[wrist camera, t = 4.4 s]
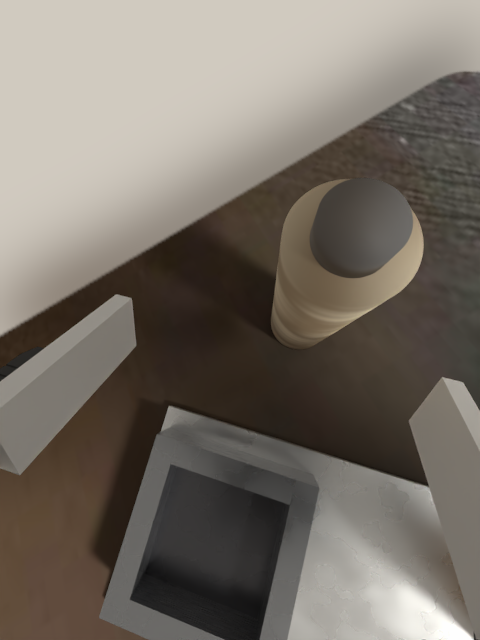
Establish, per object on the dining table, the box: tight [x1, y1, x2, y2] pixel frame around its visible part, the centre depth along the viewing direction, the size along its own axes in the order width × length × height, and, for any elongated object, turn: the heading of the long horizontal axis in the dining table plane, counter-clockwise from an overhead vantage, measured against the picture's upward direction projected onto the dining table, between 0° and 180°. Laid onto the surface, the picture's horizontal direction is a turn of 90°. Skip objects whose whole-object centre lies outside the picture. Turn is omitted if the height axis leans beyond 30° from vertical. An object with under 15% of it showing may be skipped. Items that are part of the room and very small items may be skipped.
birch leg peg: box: [271, 178, 424, 350], centre depth 15 cm, size 4×4×15 cm
